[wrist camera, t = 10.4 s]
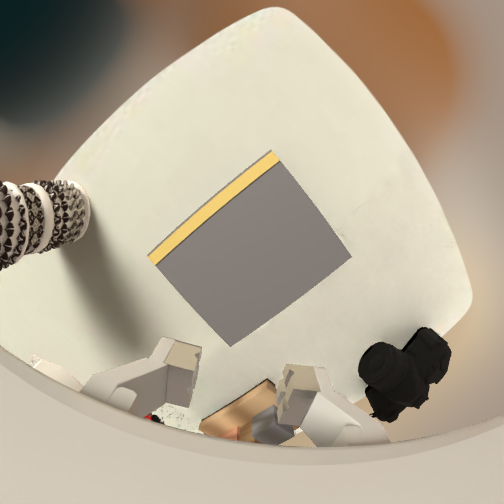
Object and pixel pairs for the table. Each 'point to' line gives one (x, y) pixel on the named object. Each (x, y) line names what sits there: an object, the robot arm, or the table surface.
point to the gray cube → (270, 427)
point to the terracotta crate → (231, 434)
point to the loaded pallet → (241, 412)
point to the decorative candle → (40, 217)
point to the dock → (250, 250)
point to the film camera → (403, 372)
